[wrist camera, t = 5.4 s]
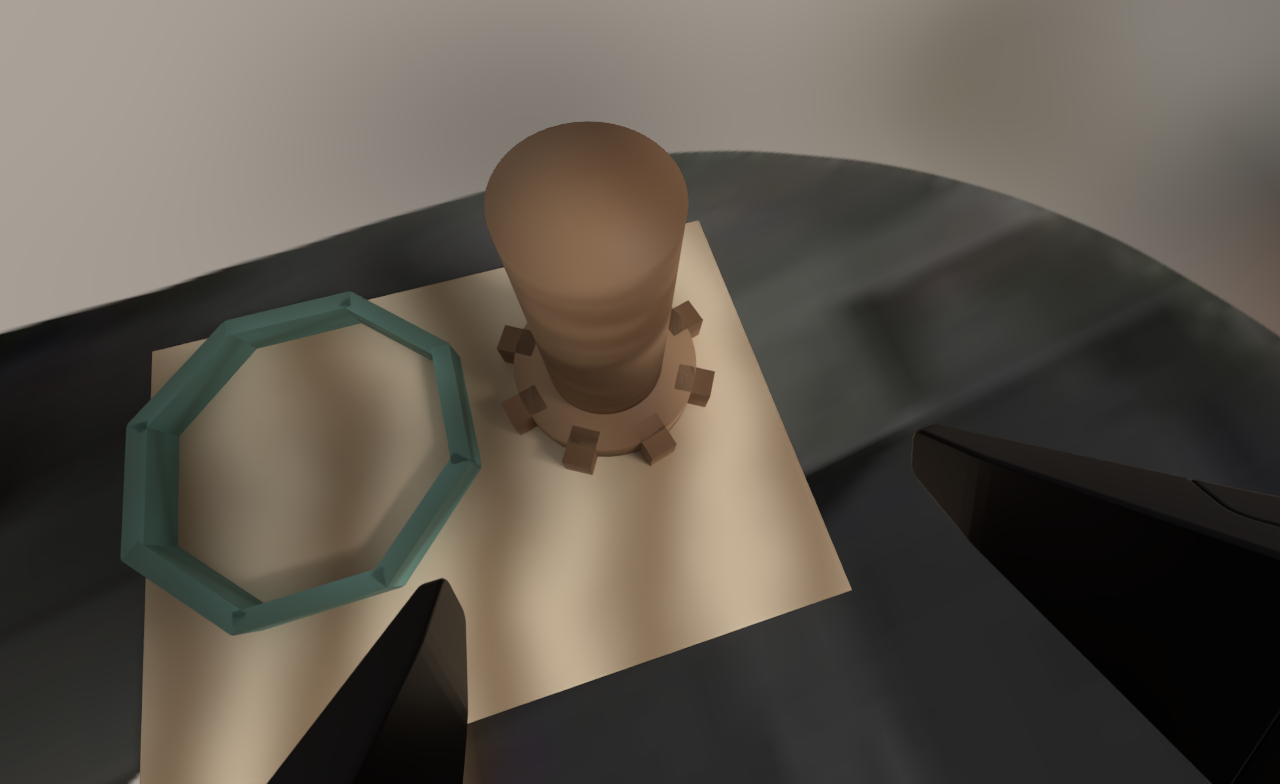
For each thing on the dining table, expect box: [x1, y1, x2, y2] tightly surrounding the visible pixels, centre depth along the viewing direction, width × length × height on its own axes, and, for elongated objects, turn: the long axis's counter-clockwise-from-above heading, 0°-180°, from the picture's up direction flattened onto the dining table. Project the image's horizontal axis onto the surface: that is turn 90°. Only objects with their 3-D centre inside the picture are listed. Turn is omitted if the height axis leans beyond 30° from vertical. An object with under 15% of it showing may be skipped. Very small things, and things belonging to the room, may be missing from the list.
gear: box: [484, 122, 715, 475], centre depth 17 cm, size 10×10×12 cm
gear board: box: [120, 221, 852, 784], centre depth 21 cm, size 27×19×3 cm
